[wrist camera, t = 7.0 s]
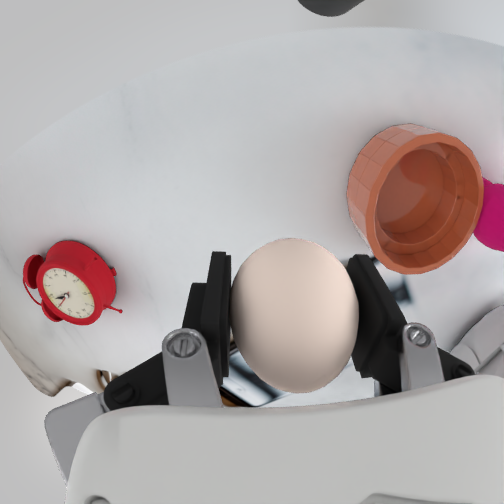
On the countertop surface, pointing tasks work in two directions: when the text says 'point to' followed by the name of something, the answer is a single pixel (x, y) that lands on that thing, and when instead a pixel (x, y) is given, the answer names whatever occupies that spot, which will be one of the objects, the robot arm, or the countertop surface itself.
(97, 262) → the alarm clock
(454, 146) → the bowl
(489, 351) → the decorative bowl
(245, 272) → the egg
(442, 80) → the countertop surface
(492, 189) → the pepper mill
